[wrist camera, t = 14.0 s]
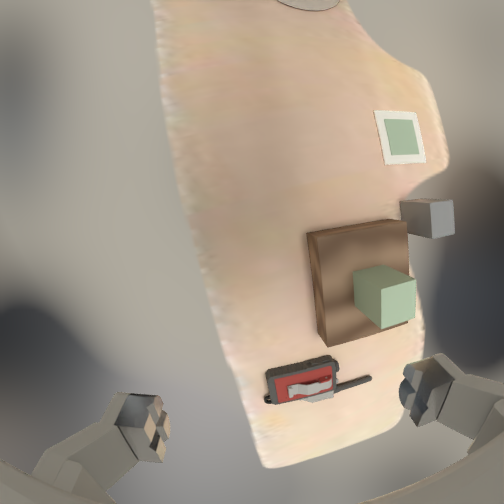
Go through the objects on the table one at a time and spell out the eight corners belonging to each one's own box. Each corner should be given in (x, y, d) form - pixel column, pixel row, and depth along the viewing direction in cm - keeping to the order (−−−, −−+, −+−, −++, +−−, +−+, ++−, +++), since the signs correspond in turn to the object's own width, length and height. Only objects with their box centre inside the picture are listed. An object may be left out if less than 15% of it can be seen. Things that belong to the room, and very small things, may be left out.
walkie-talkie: (265, 405, 45) (368, 378, 46) (268, 421, 41) (378, 391, 41) (257, 369, 43) (369, 340, 44) (260, 384, 39) (380, 352, 40)
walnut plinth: (306, 233, 40) (316, 237, 35) (389, 218, 40) (406, 221, 35) (317, 332, 43) (327, 347, 38) (392, 311, 43) (407, 322, 38)
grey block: (399, 201, 40) (429, 202, 32) (421, 198, 40) (452, 199, 32) (402, 232, 41) (432, 238, 33) (424, 227, 41) (454, 233, 33)
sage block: (352, 271, 36) (381, 289, 28) (383, 264, 36) (416, 279, 28) (354, 305, 37) (381, 329, 29) (384, 297, 37) (414, 317, 29)
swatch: (373, 110, 37) (374, 109, 36) (414, 112, 37) (416, 112, 37) (384, 165, 39) (385, 164, 38) (425, 162, 39) (427, 162, 38)
